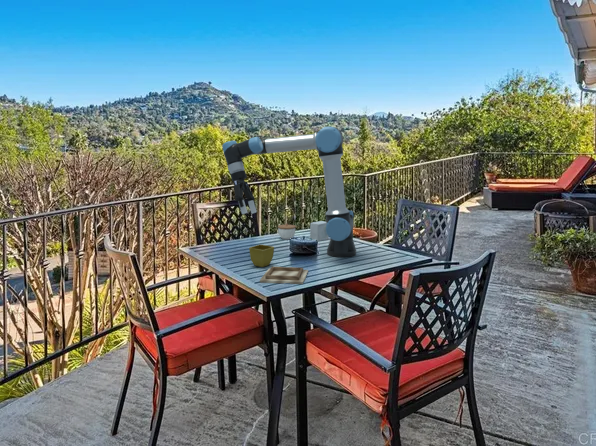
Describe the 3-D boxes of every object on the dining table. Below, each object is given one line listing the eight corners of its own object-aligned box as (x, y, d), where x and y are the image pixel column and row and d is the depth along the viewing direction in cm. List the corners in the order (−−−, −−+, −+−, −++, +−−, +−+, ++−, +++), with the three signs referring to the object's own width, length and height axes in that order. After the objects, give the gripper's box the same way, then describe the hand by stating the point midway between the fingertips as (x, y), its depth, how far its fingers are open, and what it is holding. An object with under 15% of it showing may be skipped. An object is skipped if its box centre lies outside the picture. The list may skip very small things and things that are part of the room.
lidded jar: (293, 240, 266) (293, 225, 265) (276, 239, 268) (275, 224, 267) (297, 237, 276) (297, 222, 275) (280, 236, 279) (280, 221, 277)
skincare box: (317, 241, 264) (317, 224, 262) (309, 240, 268) (309, 222, 266) (329, 238, 271) (329, 221, 269) (321, 237, 275) (321, 220, 274)
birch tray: (308, 272, 200) (308, 266, 200) (302, 284, 182) (302, 278, 182) (268, 270, 203) (268, 265, 202) (259, 282, 185) (259, 276, 185)
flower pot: (275, 264, 212) (274, 246, 211) (264, 269, 205) (263, 250, 204) (260, 262, 217) (259, 244, 216) (248, 266, 210) (248, 247, 208)
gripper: (239, 176, 234) (251, 214, 234) (220, 172, 210) (233, 216, 209) (252, 171, 233) (264, 210, 232) (234, 167, 208) (247, 211, 208)
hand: (249, 213), depth 221 cm, fingers open, 13 cm apart
